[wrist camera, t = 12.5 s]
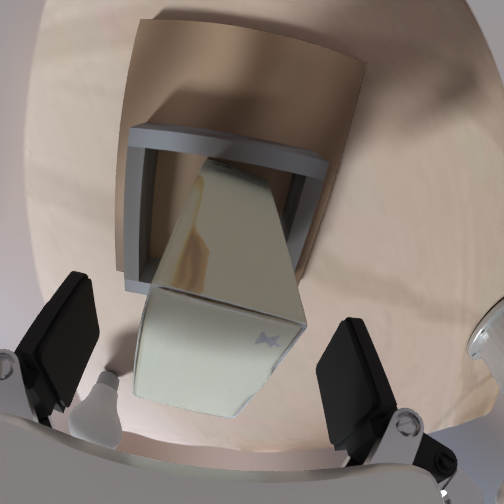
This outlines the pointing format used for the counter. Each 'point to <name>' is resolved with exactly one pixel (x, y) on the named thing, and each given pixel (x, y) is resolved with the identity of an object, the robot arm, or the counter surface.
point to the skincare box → (219, 299)
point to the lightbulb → (98, 414)
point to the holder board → (226, 130)
